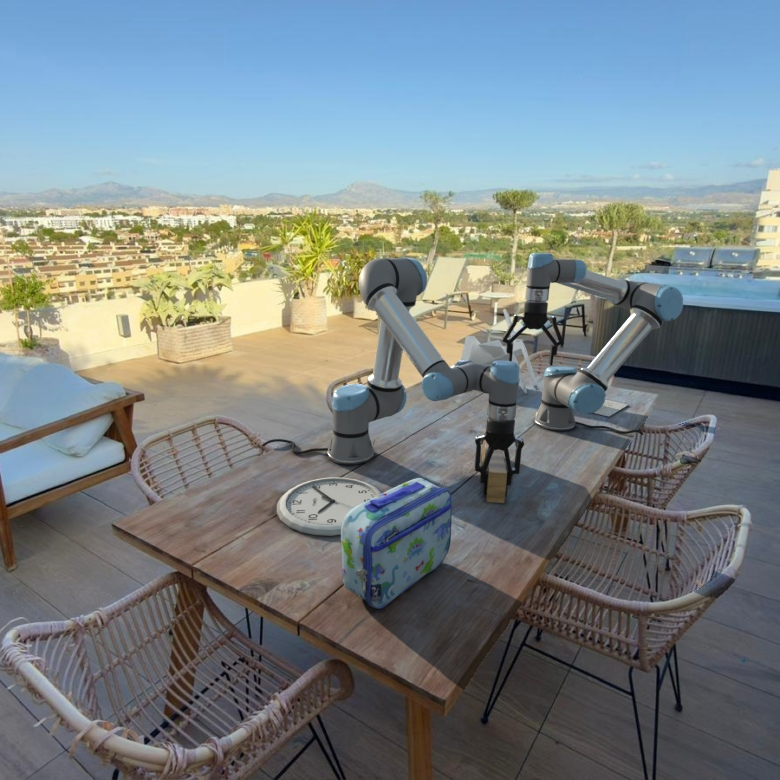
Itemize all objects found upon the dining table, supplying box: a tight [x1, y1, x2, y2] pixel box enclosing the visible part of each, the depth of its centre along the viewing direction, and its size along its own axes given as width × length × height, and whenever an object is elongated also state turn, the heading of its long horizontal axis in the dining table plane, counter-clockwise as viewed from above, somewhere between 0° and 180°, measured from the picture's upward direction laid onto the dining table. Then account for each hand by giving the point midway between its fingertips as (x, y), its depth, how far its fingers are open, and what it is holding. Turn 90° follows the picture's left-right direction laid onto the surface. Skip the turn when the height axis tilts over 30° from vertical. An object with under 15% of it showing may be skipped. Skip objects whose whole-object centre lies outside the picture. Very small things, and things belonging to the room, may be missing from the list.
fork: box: [437, 482, 448, 488], centre depth 145 cm, size 3×16×2 cm, turn 160°
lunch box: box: [340, 477, 452, 610], centre depth 110 cm, size 26×11×21 cm, turn 134°
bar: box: [480, 428, 508, 504], centre depth 160 cm, size 33×5×9 cm, turn 173°
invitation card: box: [593, 399, 629, 418], centre depth 226 cm, size 21×1×15 cm
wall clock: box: [276, 476, 383, 537], centre depth 142 cm, size 30×2×30 cm
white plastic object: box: [450, 308, 540, 394], centre depth 253 cm, size 37×45×31 cm
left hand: (494, 493), depth 149 cm, fingers closed on bar, 5 cm apart
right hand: (530, 363), depth 179 cm, fingers open, 13 cm apart
